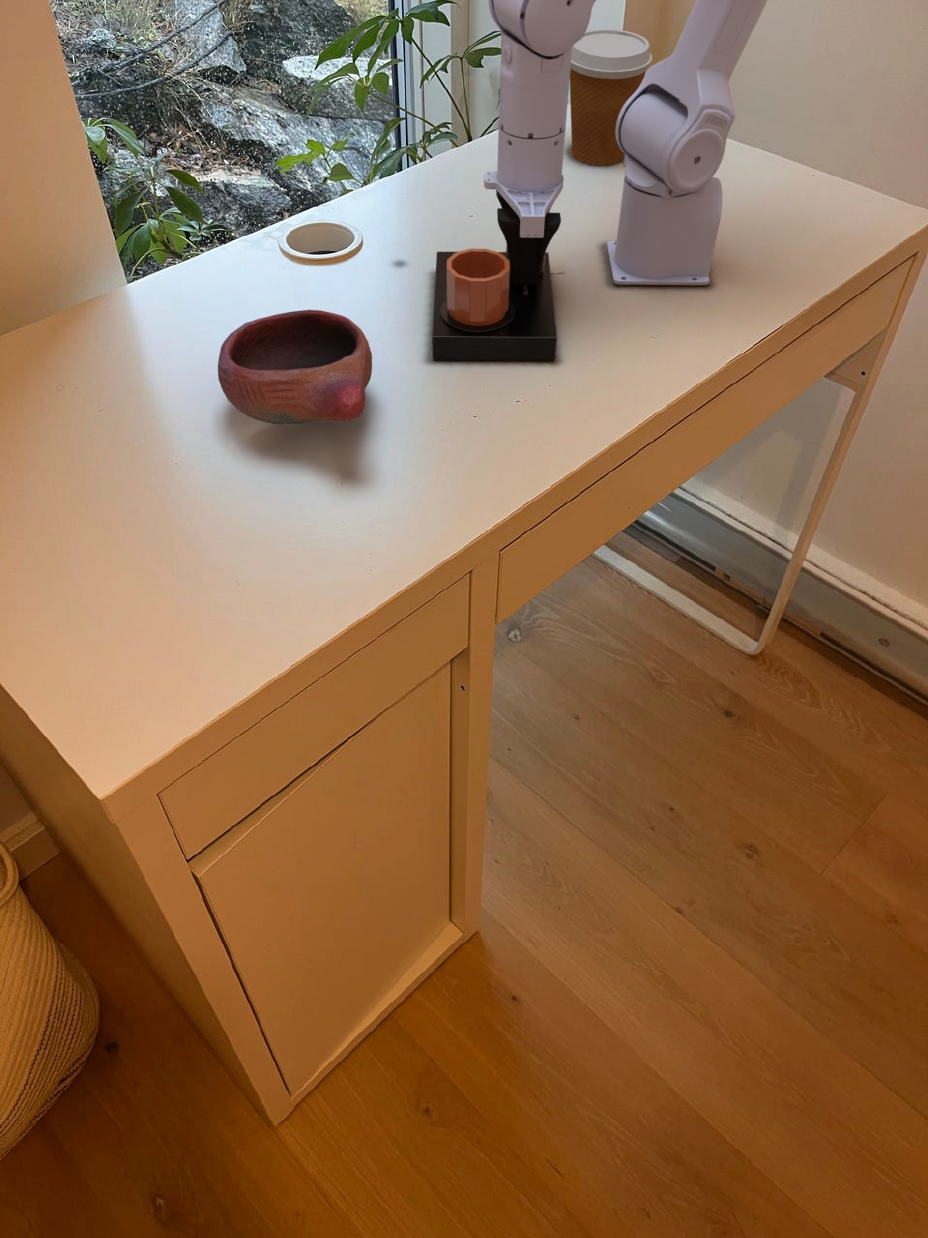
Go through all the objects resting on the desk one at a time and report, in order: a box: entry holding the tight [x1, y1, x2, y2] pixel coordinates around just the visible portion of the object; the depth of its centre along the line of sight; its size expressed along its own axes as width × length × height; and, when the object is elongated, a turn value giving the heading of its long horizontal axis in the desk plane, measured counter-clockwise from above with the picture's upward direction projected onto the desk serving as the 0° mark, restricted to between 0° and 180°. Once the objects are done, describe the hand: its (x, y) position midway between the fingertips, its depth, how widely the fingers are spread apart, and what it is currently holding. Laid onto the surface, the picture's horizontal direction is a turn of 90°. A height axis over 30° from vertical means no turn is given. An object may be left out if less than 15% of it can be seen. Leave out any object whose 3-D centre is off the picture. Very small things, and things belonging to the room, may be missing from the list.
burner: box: [440, 299, 515, 333], centre depth 88 cm, size 7×7×1 cm
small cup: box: [447, 248, 510, 326], centre depth 87 cm, size 6×6×4 cm
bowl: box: [217, 309, 373, 425], centre depth 79 cm, size 16×13×8 cm
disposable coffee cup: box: [569, 28, 653, 166], centre depth 111 cm, size 10×10×12 cm
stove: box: [431, 251, 566, 363], centre depth 92 cm, size 12×15×3 cm
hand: (523, 273), depth 93 cm, fingers open, 3 cm apart
